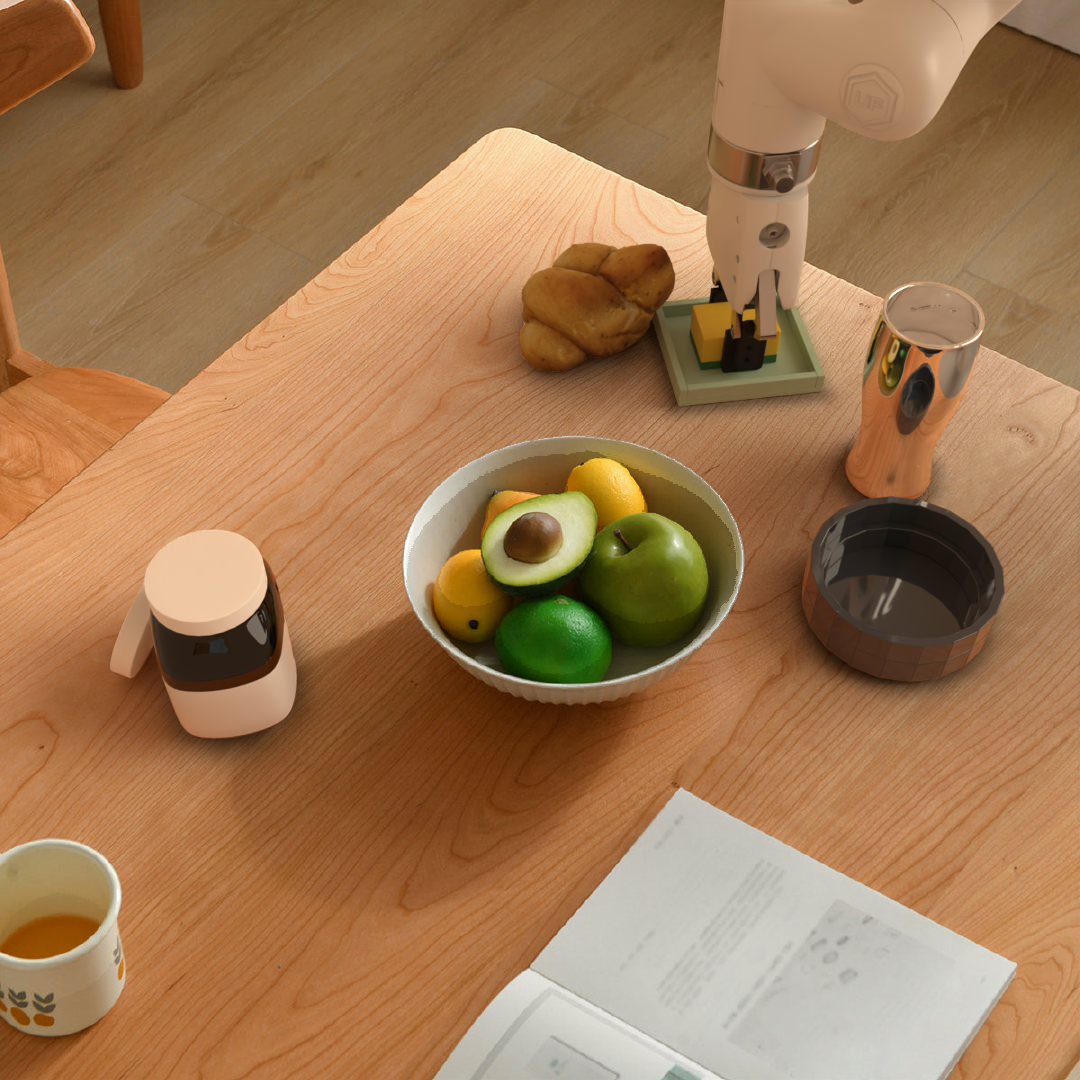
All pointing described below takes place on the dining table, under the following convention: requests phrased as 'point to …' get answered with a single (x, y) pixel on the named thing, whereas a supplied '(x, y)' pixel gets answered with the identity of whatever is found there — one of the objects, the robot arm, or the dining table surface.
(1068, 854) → the dining table surface
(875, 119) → the robot arm
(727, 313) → the sponge
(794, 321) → the sponge tray
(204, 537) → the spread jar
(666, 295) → the bread roll
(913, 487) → the beer glass
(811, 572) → the bowl
